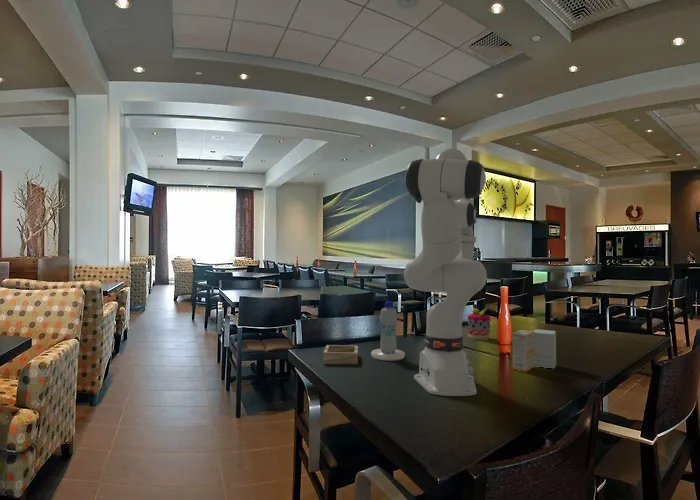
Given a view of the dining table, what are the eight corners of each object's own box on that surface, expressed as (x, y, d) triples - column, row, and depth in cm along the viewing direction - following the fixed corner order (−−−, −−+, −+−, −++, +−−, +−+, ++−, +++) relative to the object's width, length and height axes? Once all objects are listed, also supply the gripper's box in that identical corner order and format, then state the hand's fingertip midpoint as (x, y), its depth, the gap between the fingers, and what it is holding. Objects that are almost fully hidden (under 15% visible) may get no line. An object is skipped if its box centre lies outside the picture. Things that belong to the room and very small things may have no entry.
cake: (468, 340, 189) (468, 308, 189) (466, 335, 199) (466, 305, 199) (492, 341, 187) (492, 308, 187) (488, 336, 197) (488, 305, 197)
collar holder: (357, 364, 145) (357, 353, 145) (323, 363, 146) (323, 352, 146) (357, 355, 158) (357, 345, 158) (326, 355, 158) (326, 344, 158)
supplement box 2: (556, 365, 147) (556, 330, 147) (554, 370, 141) (554, 334, 141) (534, 362, 151) (534, 328, 151) (531, 366, 145) (531, 331, 145)
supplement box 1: (521, 365, 147) (521, 329, 147) (535, 367, 143) (535, 331, 143) (511, 369, 141) (512, 332, 141) (525, 372, 137) (525, 334, 137)
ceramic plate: (406, 361, 151) (406, 357, 151) (371, 360, 151) (371, 356, 151) (402, 352, 164) (402, 348, 164) (370, 351, 164) (370, 348, 164)
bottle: (399, 351, 159) (400, 301, 159) (392, 355, 153) (392, 302, 153) (384, 349, 162) (384, 299, 162) (376, 352, 156) (377, 301, 156)
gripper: (446, 241, 167) (444, 275, 165) (460, 235, 146) (458, 273, 145) (461, 242, 167) (459, 276, 165) (477, 237, 146) (475, 275, 145)
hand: (459, 275), depth 155 cm, fingers open, 8 cm apart
